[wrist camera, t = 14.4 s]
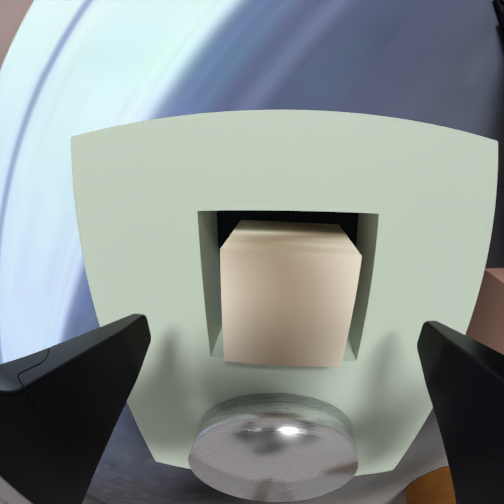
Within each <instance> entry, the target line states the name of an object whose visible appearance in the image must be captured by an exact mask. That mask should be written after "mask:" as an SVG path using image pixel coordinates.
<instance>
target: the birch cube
mask: <svg viewBox="0 0 504 504" xmlns="http://www.w3.org/2000/svg"><path fill="white" fill-rule="evenodd" d="M361 260H362V256H361V254H360V253H359V251H358V250H357V249H356V247H355V246H354V245H353V243H352V242H351V240H350V239H349V238H348V236H347V235H346V234H345V232H344V231H343V230H342V228H341V227H340V226H339V225H337V224H320V223H302V222H283V221H260V220H240V222H239V223H238V225H237V226H236V227H235V229H234V230H233V232H232V233H231V234H230V236H229V237H228V239H227V240H226V241H225V243H224V244H223V246H222V247H221V248H220V270H221V304H222V330H223V352H224V361H231V362H242V363H253V364H266V365H283V366H306V367H341V363H342V359H343V355H344V351H345V346H346V342H347V338H348V333H349V328H350V324H351V319H352V314H353V308H354V303H355V298H356V292H357V286H358V280H359V274H360V267H361Z"/></svg>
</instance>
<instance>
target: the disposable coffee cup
mask: <svg viewBox="0 0 504 504" xmlns="http://www.w3.org/2000/svg"><path fill="white" fill-rule="evenodd" d="M406 498H407V504H456V500H455V492H454V488H453V482H452V477H451V473H450V468H449V467H444V468H441V469H438V470H435V471H432V472H430V473H428V474H426V475H424V476H422V477H420V478H418V479H417V480H415V481H414V482H412V483H411V484H410V485H409V486H408V487H407V488H406Z"/></svg>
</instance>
